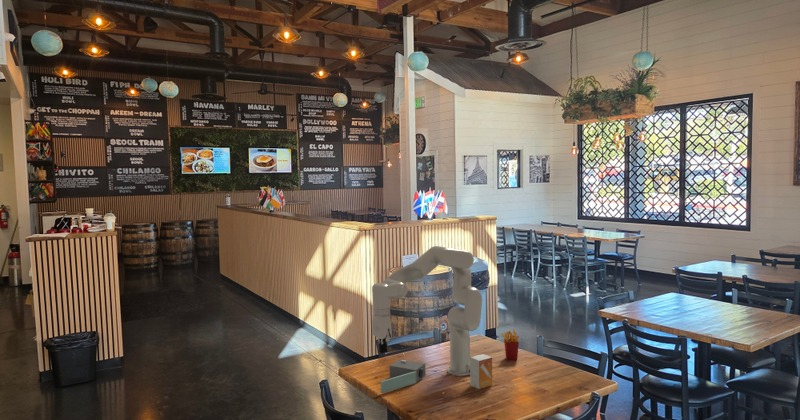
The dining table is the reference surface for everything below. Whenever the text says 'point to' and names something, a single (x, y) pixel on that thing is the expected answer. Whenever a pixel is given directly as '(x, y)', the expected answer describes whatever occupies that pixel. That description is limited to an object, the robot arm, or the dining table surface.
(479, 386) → the small box
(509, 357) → the french fries
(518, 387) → the dining table surface
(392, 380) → the door
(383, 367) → the dining table surface
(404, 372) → the box
